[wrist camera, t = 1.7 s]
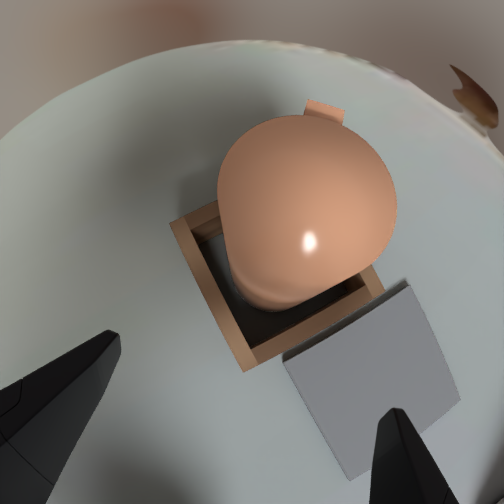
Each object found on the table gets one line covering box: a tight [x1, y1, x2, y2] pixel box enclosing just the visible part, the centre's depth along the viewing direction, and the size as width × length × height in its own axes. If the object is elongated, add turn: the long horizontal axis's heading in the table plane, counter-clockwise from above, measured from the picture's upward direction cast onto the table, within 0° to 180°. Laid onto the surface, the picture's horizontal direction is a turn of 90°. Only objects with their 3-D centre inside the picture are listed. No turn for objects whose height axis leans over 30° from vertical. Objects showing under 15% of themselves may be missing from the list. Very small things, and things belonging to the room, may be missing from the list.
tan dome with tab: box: [217, 99, 397, 312], centre depth 17 cm, size 9×6×13 cm
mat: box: [283, 285, 461, 481], centre depth 20 cm, size 11×11×1 cm
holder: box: [169, 200, 385, 372], centre depth 21 cm, size 10×10×4 cm
